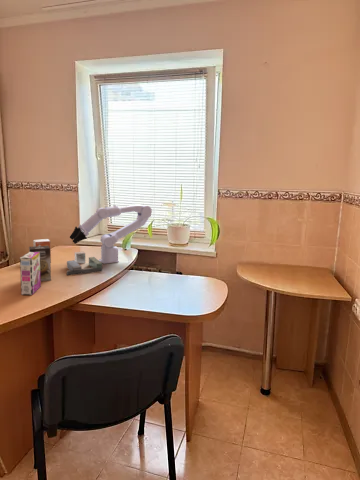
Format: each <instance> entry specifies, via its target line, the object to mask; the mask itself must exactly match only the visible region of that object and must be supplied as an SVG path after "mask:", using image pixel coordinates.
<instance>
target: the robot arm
mask: <svg viewBox="0 0 360 480" xmlns="http://www.w3.org/2000/svg"><path fill="white" fill-rule="evenodd" d="M133 212H135V213H137V217H136V219H135V220H133V221H132V222H129V223H128V224H126V225H125V226H122V227H121V228H118V229H117V230H115V231H112V232H110V233H105V234H102V235H101V237H100V243H102V244H101V246H100V249H101V250H100V255H101V256H100V259H98V260H99V261H100V262H101V263H102V265H103V264H112V263H119V249H118V247H117V245H116V246H114V245H115V244H116V243H118V242H119V240H121V239H122V238H123V237H126V236H127V235H129V234H131V233H132V232H135V231H136V230H137V229H140V228H141V227H143V226H145V225H146V223H147V222H148V220H149V219H150V218H151V216H152V212H153V210H152V207H151V206H149V205H145V204H144V203H143V204H142V203H141V204H132V205H128V206H127V205H126V206H121V207H120V206H118V205H116V204H113V205H112V206H105V207H99V208H97V209H96V211H95V212H94V213H93V214H92V215H91V216H90V217H89V218H88V219H86V220H85V221H84V222H83V223H82V224H80V223H79V224H78V226H75V227H74V230H73V231H72V233H71V234H70V236H69V238H70V239H71V240H72V242H73V243H74V244H77V243H79V242H81V241H84V240H87V237H88V236H89V234H90V232H91V231H92V230H93V229H94V228H95V227H96V226H97V225H99V223H101V221H103V220H106V219H107V218H112V217H118V216H120V215H122V214H123V213H133Z"/></svg>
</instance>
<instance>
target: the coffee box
mask: <svg viewBox="0 0 360 480" xmlns="http://www.w3.org/2000/svg"><path fill="white" fill-rule="evenodd" d="M29 252H40V279H41V282H47V281H52V267H51V264H52V261H51V262H50V247H49V246H34V247H33V246H29V247H28V253H29Z"/></svg>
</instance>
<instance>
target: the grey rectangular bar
mask: <svg viewBox="0 0 360 480" xmlns="http://www.w3.org/2000/svg"><path fill="white" fill-rule="evenodd" d="M66 268H67V269H68V270H74V271H75V270H82V269H83V268H82V266H81V264H78V263H77V262H76V261H75V259H74V260H66Z"/></svg>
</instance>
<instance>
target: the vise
mask: <svg viewBox="0 0 360 480" xmlns="http://www.w3.org/2000/svg"><path fill="white" fill-rule="evenodd" d="M99 260H100V259H97V257H95V256H89V257H88V265H89V267H88V268H87V267H86V268H82V270H75V271H74V270H69V269H68V270H66V275H67V276H73V275H74V276H75V275H83V274H90V273H99V272H103V263H102V262H100V261H99Z"/></svg>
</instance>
